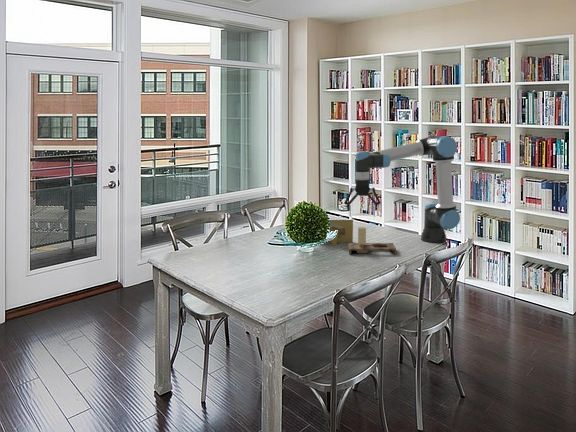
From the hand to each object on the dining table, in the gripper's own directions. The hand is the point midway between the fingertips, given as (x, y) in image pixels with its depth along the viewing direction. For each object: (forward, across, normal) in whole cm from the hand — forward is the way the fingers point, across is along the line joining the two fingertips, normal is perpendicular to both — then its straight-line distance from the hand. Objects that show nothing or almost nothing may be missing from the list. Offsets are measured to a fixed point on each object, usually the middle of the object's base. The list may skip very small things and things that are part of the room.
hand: (362, 216), depth 285 cm
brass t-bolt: (+21, 0, 0) cm, 21 cm away
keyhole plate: (+21, +5, 0) cm, 21 cm away
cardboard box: (+21, -16, +20) cm, 33 cm away
